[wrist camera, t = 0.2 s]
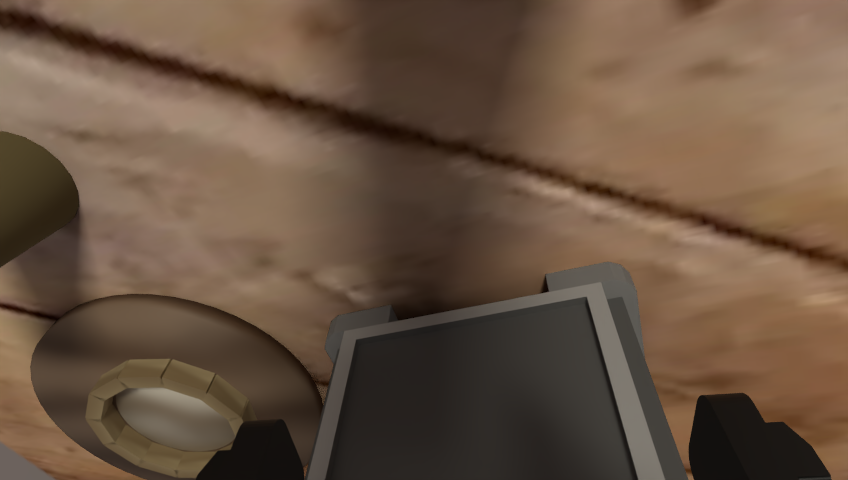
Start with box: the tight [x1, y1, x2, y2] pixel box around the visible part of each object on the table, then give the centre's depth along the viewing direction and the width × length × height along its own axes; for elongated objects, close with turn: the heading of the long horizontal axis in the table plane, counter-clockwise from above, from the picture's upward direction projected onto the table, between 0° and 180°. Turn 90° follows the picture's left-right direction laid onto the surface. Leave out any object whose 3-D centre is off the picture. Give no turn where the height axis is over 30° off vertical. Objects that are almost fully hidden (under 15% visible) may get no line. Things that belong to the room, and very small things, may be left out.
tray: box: [30, 294, 323, 480], centre depth 38 cm, size 20×20×3 cm
